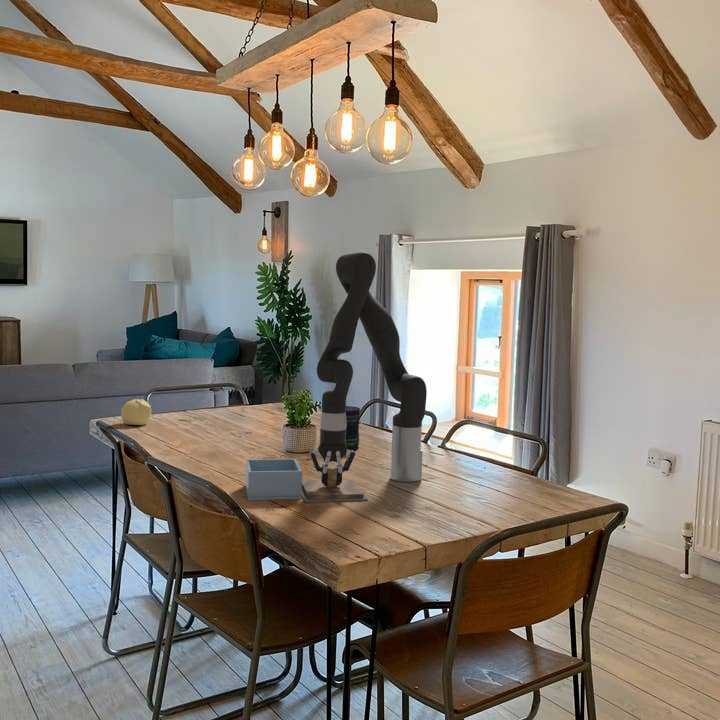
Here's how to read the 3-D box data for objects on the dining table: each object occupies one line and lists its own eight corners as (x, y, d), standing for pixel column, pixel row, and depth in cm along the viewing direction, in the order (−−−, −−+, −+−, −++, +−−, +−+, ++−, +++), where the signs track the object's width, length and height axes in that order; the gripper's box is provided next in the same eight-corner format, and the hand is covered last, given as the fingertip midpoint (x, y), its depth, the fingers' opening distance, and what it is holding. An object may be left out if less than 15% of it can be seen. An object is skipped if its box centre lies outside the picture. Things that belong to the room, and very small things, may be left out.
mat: (355, 483, 237) (355, 482, 237) (367, 500, 219) (367, 499, 219) (297, 485, 233) (297, 483, 233) (304, 502, 215) (304, 500, 215)
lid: (353, 483, 235) (353, 461, 235) (363, 498, 220) (364, 475, 219) (300, 484, 232) (301, 462, 232) (307, 499, 217) (308, 476, 216)
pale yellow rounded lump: (154, 426, 316) (154, 400, 315) (125, 428, 310) (125, 401, 309) (147, 421, 326) (147, 395, 324) (118, 423, 320) (118, 397, 318)
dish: (295, 484, 233) (296, 458, 233) (301, 498, 219) (302, 471, 218) (245, 485, 230) (245, 459, 230) (248, 500, 216) (248, 472, 215)
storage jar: (358, 451, 281) (360, 411, 280) (331, 450, 282) (333, 410, 280) (359, 445, 291) (360, 406, 290) (333, 444, 292) (334, 405, 290)
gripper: (354, 424, 229) (352, 481, 231) (307, 424, 226) (305, 482, 228) (359, 429, 222) (357, 488, 224) (310, 429, 219) (309, 489, 221)
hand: (331, 484), depth 226 cm, fingers closed on lid, 3 cm apart
